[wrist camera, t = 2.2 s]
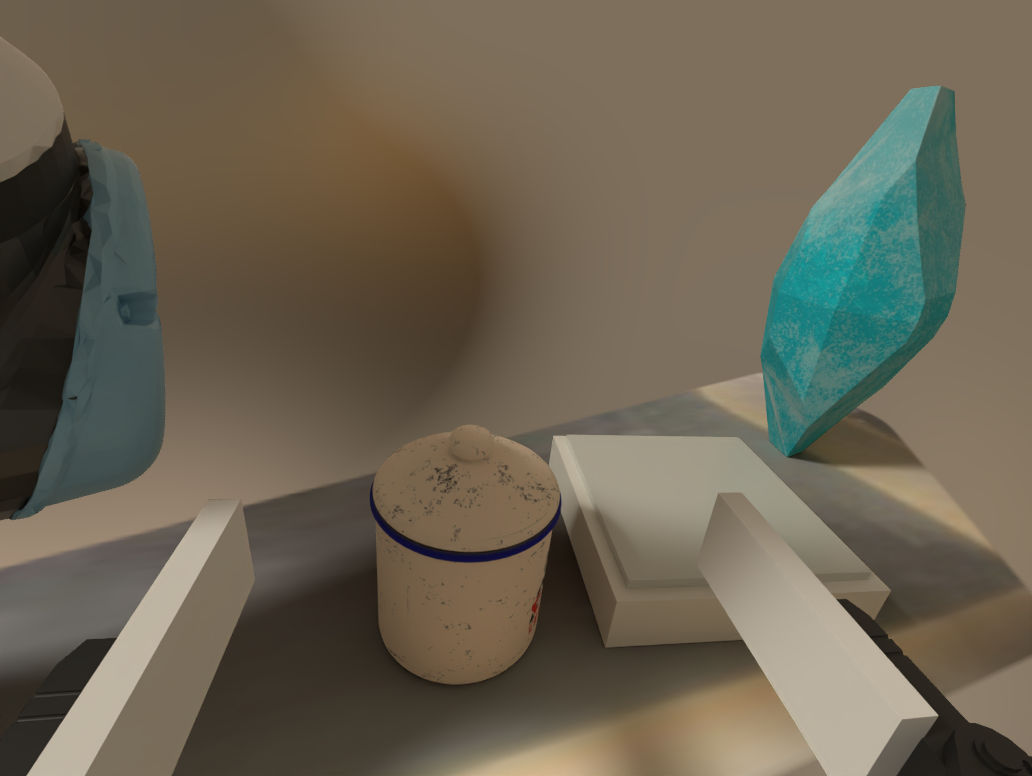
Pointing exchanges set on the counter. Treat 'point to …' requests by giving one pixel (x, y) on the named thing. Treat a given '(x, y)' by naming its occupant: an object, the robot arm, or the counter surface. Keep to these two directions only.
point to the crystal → (866, 273)
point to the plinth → (679, 532)
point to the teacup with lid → (461, 552)
